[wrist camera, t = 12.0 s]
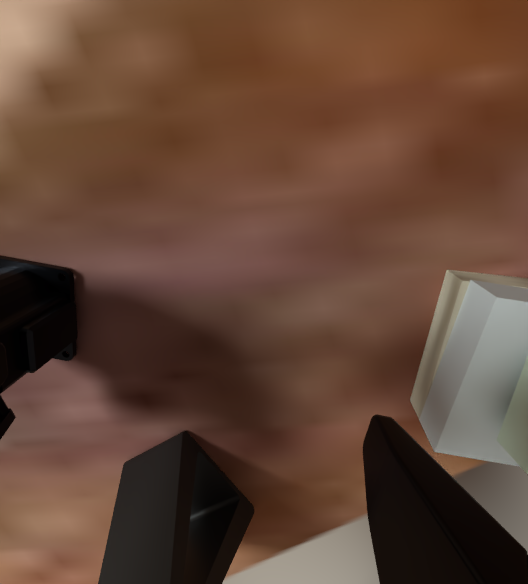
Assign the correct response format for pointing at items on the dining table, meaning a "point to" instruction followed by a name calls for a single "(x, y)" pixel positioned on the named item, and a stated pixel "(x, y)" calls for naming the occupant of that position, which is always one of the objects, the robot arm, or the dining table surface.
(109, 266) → the dining table surface
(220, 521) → the phone stand
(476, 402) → the top slab
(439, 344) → the base slab
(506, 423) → the pillar
